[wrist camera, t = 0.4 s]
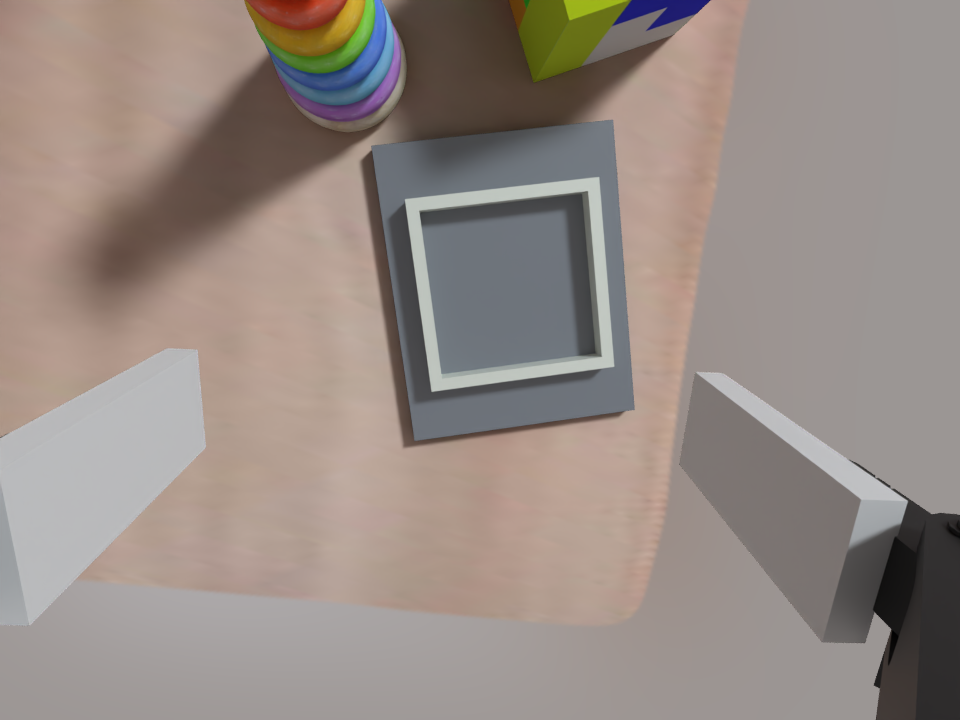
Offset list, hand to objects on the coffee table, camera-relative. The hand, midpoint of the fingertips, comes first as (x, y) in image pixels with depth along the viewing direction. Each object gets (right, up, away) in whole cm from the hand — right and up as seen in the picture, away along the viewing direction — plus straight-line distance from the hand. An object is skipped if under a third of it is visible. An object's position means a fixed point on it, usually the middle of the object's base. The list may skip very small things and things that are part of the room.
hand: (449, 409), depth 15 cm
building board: (+3, +7, +25) cm, 26 cm away
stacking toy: (-8, +20, +22) cm, 31 cm away
